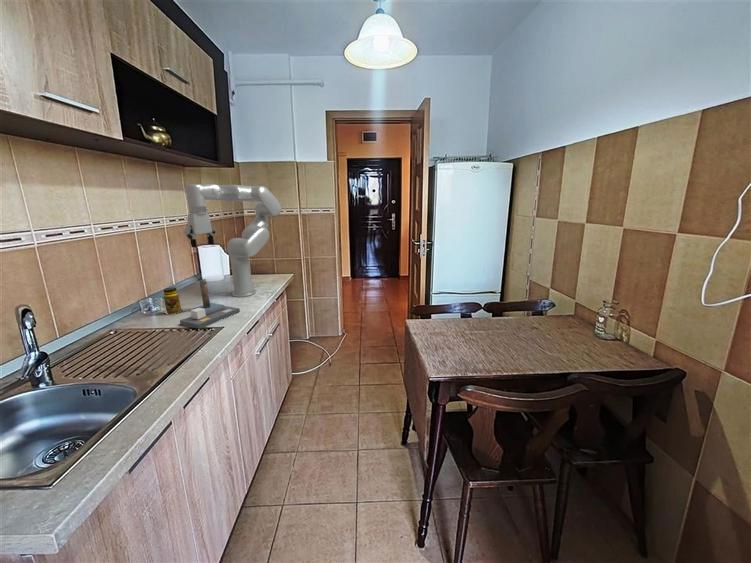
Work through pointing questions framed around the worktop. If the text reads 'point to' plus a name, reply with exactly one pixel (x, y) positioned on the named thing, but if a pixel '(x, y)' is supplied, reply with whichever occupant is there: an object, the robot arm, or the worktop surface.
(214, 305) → the tool mat
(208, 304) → the dowel
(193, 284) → the worktop surface
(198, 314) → the white cube
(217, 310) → the switch board
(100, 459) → the worktop surface
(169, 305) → the condiment
